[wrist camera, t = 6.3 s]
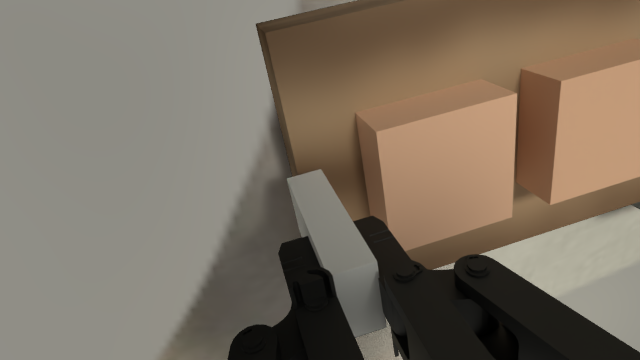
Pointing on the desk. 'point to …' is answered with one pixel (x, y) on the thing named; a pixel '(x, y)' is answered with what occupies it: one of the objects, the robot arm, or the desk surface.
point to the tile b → (580, 122)
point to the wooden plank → (428, 88)
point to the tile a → (440, 161)
